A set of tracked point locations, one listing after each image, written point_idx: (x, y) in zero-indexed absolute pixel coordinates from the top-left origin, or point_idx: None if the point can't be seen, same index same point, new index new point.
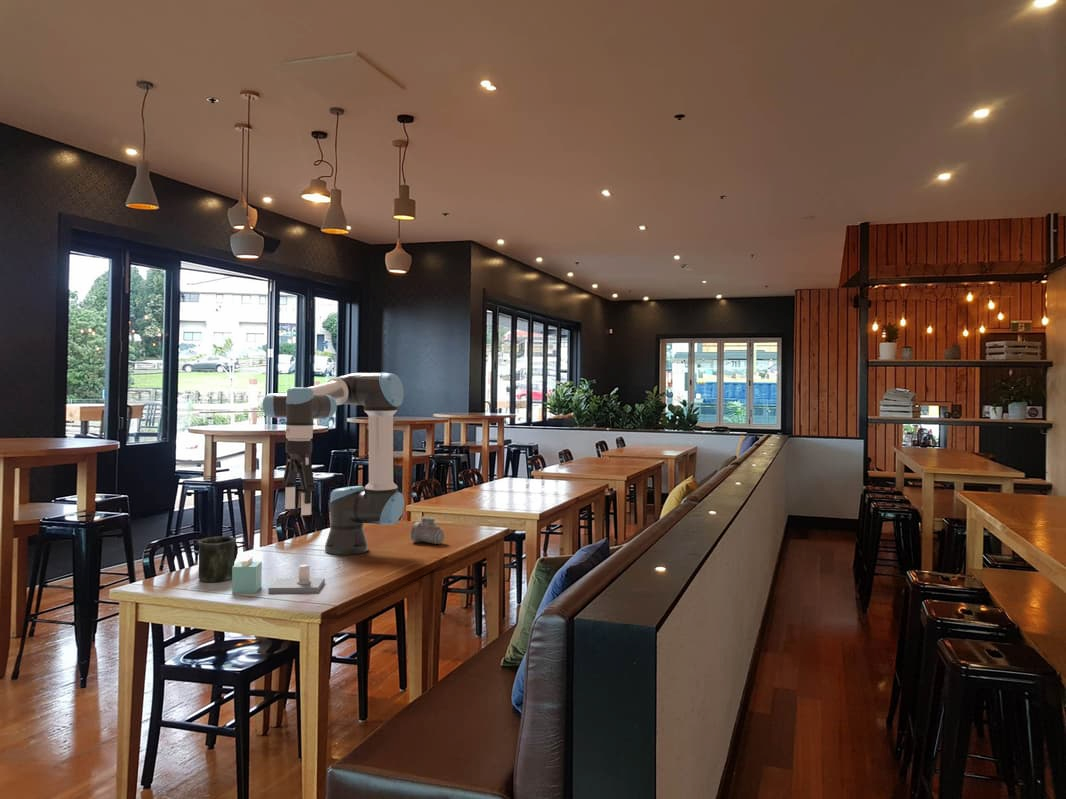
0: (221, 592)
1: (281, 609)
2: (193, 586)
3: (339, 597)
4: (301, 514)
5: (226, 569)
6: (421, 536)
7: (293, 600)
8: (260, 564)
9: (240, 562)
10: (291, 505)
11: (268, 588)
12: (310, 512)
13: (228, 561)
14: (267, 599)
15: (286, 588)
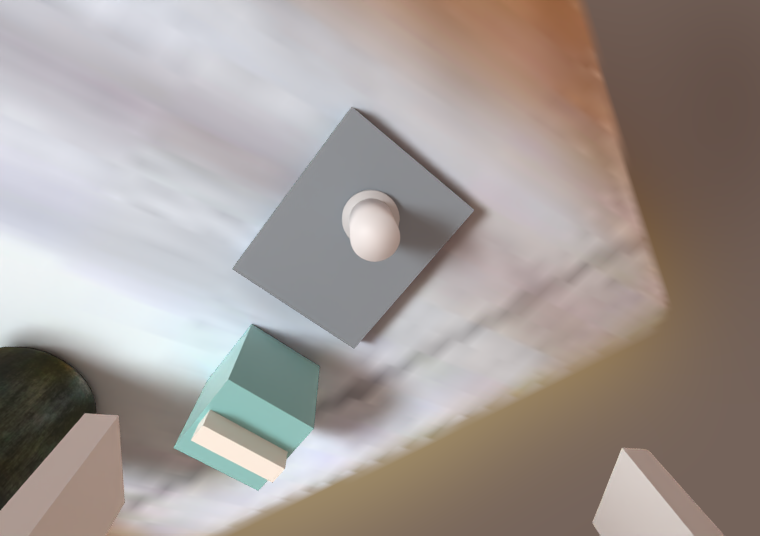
0: None
1: (552, 377)
2: None
3: (581, 176)
4: (605, 528)
5: (68, 414)
6: None
7: (493, 313)
8: (249, 385)
9: (193, 447)
10: (100, 484)
11: (354, 347)
12: (660, 474)
13: (42, 429)
14: (423, 367)
15: (394, 300)
